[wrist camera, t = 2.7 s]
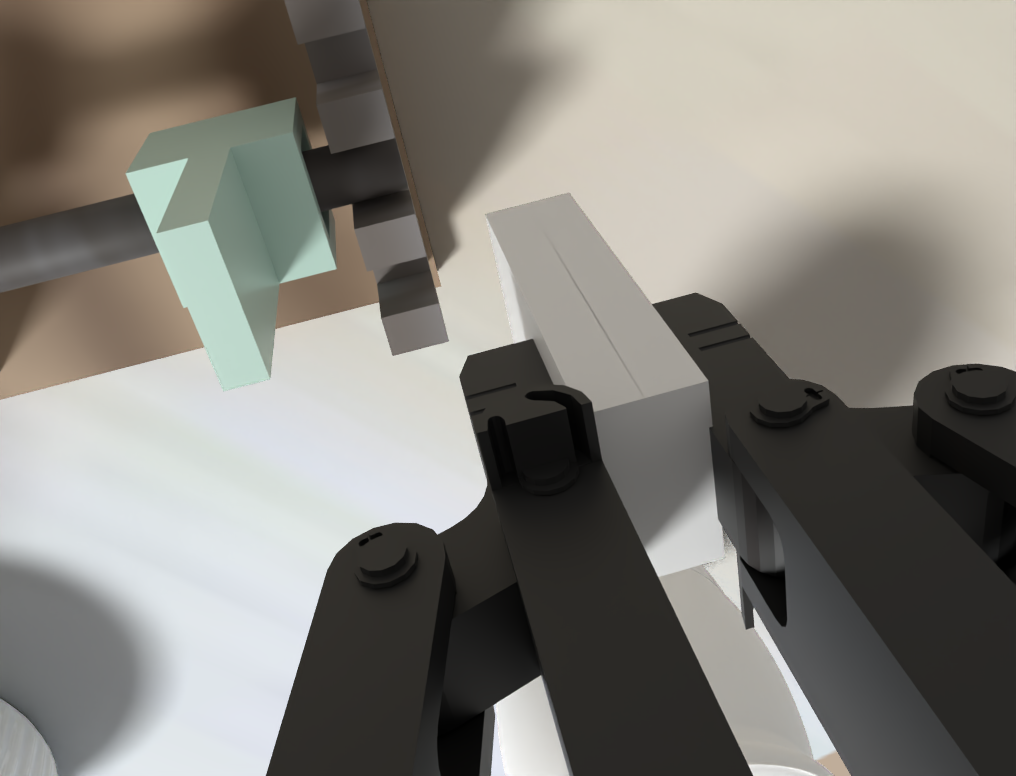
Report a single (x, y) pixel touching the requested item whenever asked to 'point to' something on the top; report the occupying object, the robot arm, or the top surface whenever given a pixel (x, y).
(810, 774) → the jar
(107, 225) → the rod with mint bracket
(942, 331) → the top surface
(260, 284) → the mint green stepped block
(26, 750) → the ramekin
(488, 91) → the top surface
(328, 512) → the top surface
